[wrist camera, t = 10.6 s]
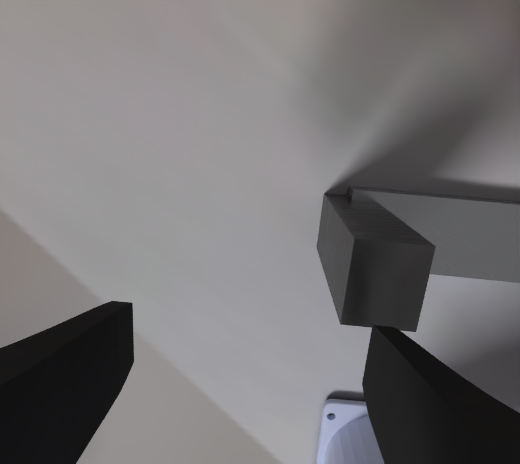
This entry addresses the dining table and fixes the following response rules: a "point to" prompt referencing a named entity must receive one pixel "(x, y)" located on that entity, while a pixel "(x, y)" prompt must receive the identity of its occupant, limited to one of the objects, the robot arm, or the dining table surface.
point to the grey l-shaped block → (410, 249)
